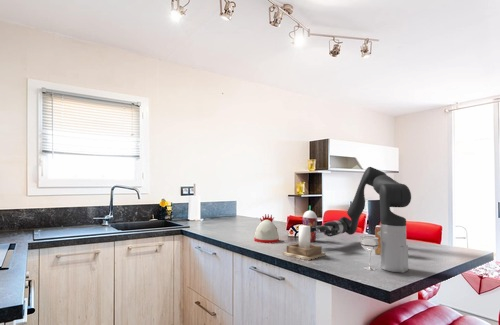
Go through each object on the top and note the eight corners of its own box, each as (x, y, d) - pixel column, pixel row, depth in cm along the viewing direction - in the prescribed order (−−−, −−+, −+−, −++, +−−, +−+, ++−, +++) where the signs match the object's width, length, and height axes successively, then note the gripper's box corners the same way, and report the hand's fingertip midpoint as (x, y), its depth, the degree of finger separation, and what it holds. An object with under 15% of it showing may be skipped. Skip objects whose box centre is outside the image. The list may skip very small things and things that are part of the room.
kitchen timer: (277, 243, 167) (278, 215, 168) (252, 242, 169) (253, 214, 170) (279, 239, 181) (279, 213, 182) (256, 238, 183) (256, 212, 184)
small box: (374, 254, 147) (374, 226, 148) (376, 251, 152) (376, 225, 153) (393, 256, 143) (393, 228, 144) (394, 254, 148) (394, 226, 149)
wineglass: (381, 268, 122) (381, 237, 122) (375, 272, 117) (375, 239, 117) (364, 265, 126) (364, 235, 127) (357, 268, 121) (357, 237, 122)
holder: (325, 255, 142) (325, 246, 142) (309, 260, 132) (309, 250, 132) (299, 250, 152) (299, 241, 152) (282, 254, 141) (282, 245, 142)
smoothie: (319, 240, 178) (319, 205, 180) (314, 243, 171) (314, 206, 172) (305, 239, 182) (305, 204, 184) (300, 241, 175) (300, 205, 177)
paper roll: (312, 252, 142) (312, 226, 143) (306, 254, 138) (306, 227, 139) (302, 250, 146) (302, 225, 146) (296, 252, 142) (296, 226, 143)
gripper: (321, 219, 168) (304, 222, 156) (346, 222, 158) (330, 225, 146) (321, 233, 167) (304, 237, 155) (346, 237, 158) (330, 241, 146)
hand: (317, 231), depth 151 cm, fingers open, 8 cm apart
